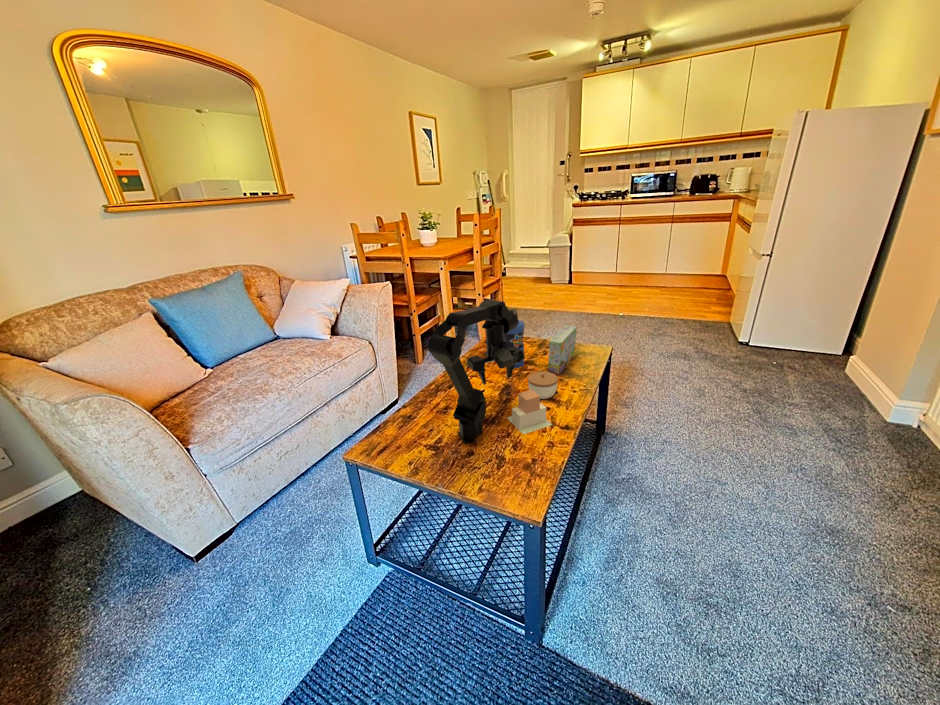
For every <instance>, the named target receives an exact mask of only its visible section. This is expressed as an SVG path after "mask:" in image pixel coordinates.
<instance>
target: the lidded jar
mask: <svg viewBox="0 0 940 705" xmlns="http://www.w3.org/2000/svg"><path fill="white" fill-rule="evenodd" d="M558 381H559V378H558V376H556V375H555V374H553V373H550V372H548V371H541V370H540V371H535V372H532V373H531V374H529V375H528V376H527V382H528V390H533V391H534V392H535V393H536V394H538V395H539V396H540V400H547V399H550V398H552V396H554V395H555V393H556V392H557V388H558Z"/></svg>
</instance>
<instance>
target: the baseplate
mask: <svg viewBox="0 0 940 705" xmlns="http://www.w3.org/2000/svg"><path fill="white" fill-rule="evenodd" d="M506 419H507V420H508V421H509V422H510V423H511V425H513V426H514V427H515V428H516V429H517V430H518V431H519V432H520V433H522V435H526V434H529V433H531V432H535V431H539V430H541V429H544V428H547V427H550V426H553V423H551V421H550V420H548V419H547V418H546V421H543V422H540V423H537V424H534V425H531V426H528V427H525V428H522V429H519V428H518V427H517V426H516V425H515V424H514V423H513V422H512V415H510V416H507V417H506Z"/></svg>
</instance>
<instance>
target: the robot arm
mask: <svg viewBox="0 0 940 705" xmlns="http://www.w3.org/2000/svg"><path fill="white" fill-rule="evenodd" d="M518 320H519V317H518V318H517V317H516V315H514V314H513V310H511V309H509V308H508V307H507V305H506V302H505V301H501V300H494V299H485V300H483V301H481V302H480V303H479V305H477V306H475V307H471V308H468V309H463V310H459V311H456V312H454V311H453V312H449V314H447V317H446V318H445V320H444V321H443V322H441V323H440V324H439V325H438V326H436V327H435V329H434V330H433V333H432V334H431V336H430V338H429V339H428V343H427V350H428V352H429V353H430V355H431V356H432V357H433V358H434V359H435V360H436V361H438V362H439V363H441V365H443V367H444V369H445V371H446V373H447V376H448V377H449V379H450V381H451V383H452V385H453V387H454V388H455V391H456V393H457V395H458V396H457V400H456V403H457V405H456V407H455V410H454V412H453V414H452V416H453V418H454V420H457V421H458V429H459V431H458V432H457V435H458V437H460V439H461V440H462V441H463V443H464V444H465V445H466V444H470V443H473V442H476V441H477V440H476V438H477V437H479V436H480V435H481V434H483V422H484V421H485V419H486V413H487V412H486V411H487V401H486V400H487V398H486V397H485V395H484V392H483V390H481V389H478V388H474V387H473V385H472V383H471V382H472V381H471V380H470V378H469V375H468V373H467V372H466V370H465V369H466V368H465V367H464V365H463V363H462V360H461V359H460V358H461V355H462V347H463V344H464V343H465V341H466V340H465V339H466V337H465V336H466V335H465V332H466V331H465V330H466V329H467V327H468V326H471V325H474V324H478V323H481V322H484V321H485V322H484V323H483V324H482V326H481V328H482V329H484V330H485V337H486V338H485V339H484V344H486V350H485V352H484V353H485V355H486V357H481V356H480V355H477V354H476V355H473V356H469V357H468V358H467V359H466V365H467V367H469V368H470V369H471V370H472V371H473V372H477V374H478V376H479V379H480V380H481V382H482V383H483V385H484V386H486V384H487V383H486V382H487V379H486V371H487V368H485V367H486V364H488V363H493V362H495V363H496V365H497V366H498V368H499V369H505V368H506V369H505V370H506V378H507V379H511V376H512V374H513V371H514V369H515V368H514V367H515V365H516V364H517V363H518V362H520V361H521V360H522V359H524V360H525V351H524V352H523V351H522V350H520V349H519V348H517V347H516V346H515V347H511V348H507V345H506V342H504V334H506V333H508V332H510V331H511V330H513V329H515V328H516V327H517V326H518V323H519V321H518ZM452 328H456V330H457V332H456V335H455V336H453V337H452V336H448V335H445V334H447V333H448V332H449V331H451V330H452Z"/></svg>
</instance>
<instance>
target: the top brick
mask: <svg viewBox="0 0 940 705" xmlns="http://www.w3.org/2000/svg"><path fill="white" fill-rule="evenodd" d="M517 396H518V397H517V399H518V401H517V403H518V405H517V407H519V408H521V409H522V410H523V411H524V412H525V413H526V414H528V413H531V412H534V411H537V410H540V403H541V399H540V396H539V395H538V394H536V393H535V392H534V391H533V390H529V389H528V390H526V391H522V392H519V393H518V395H517Z"/></svg>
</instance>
